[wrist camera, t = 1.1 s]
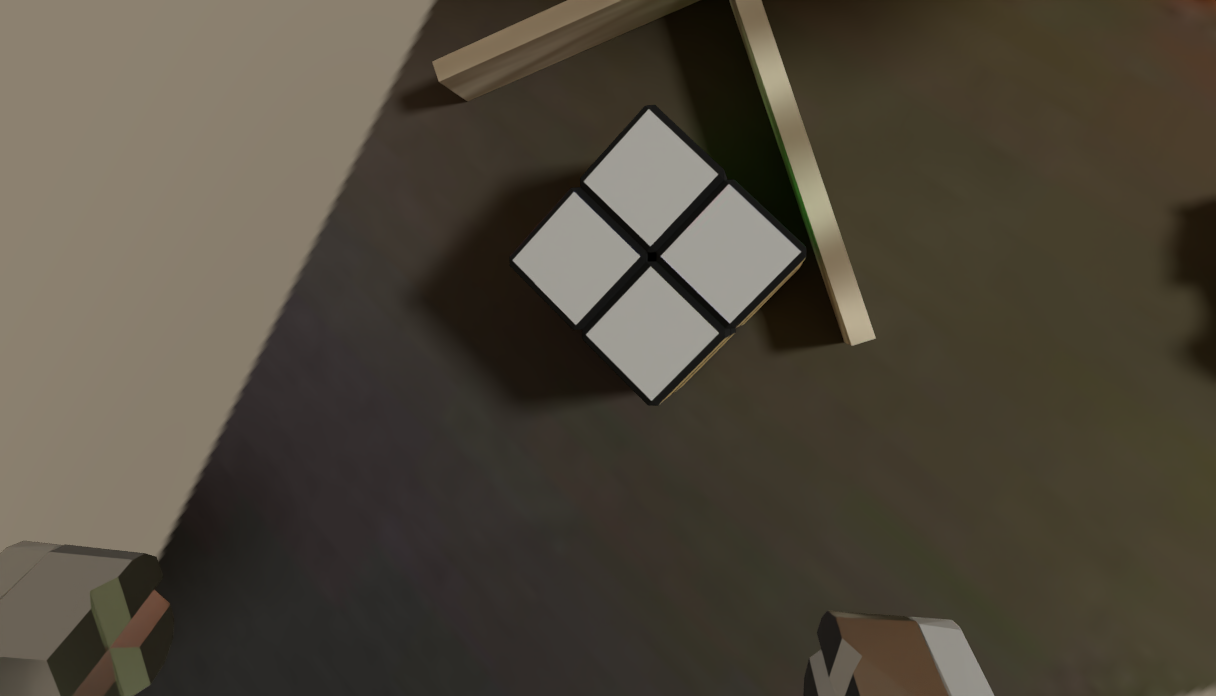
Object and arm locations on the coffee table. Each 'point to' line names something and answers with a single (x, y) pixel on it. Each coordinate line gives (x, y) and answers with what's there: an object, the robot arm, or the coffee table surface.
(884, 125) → the coffee table surface
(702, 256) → the puzzle cube
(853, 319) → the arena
